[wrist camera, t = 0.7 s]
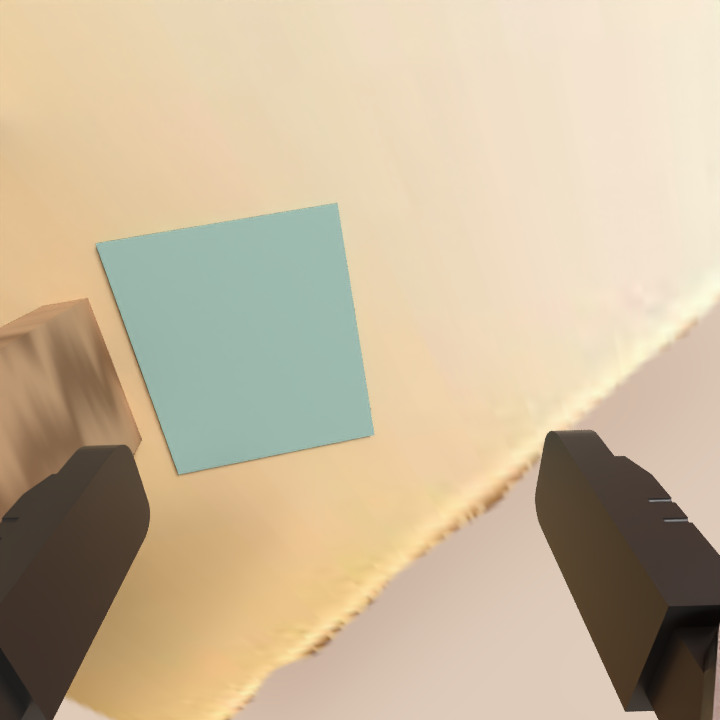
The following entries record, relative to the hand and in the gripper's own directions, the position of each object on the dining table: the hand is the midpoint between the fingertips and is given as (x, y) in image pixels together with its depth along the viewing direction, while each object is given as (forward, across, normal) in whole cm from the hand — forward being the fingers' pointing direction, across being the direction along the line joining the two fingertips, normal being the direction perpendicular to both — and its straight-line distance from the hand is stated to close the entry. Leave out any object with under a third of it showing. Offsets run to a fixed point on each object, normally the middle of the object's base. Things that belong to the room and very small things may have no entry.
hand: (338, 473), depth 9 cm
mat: (+20, +7, +7) cm, 22 cm away
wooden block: (+19, +17, +8) cm, 26 cm away
